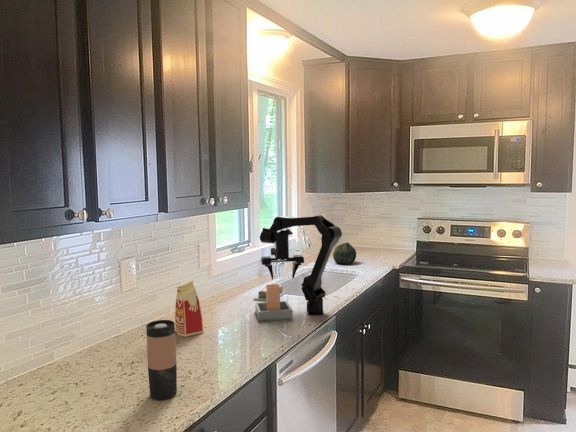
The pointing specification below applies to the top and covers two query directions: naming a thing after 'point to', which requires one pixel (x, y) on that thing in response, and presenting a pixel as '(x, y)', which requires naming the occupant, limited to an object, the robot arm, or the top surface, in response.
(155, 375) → the travel mug
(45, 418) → the top surface
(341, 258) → the squash
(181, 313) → the red food bag
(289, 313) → the tray
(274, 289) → the peach block
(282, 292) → the packaged product
